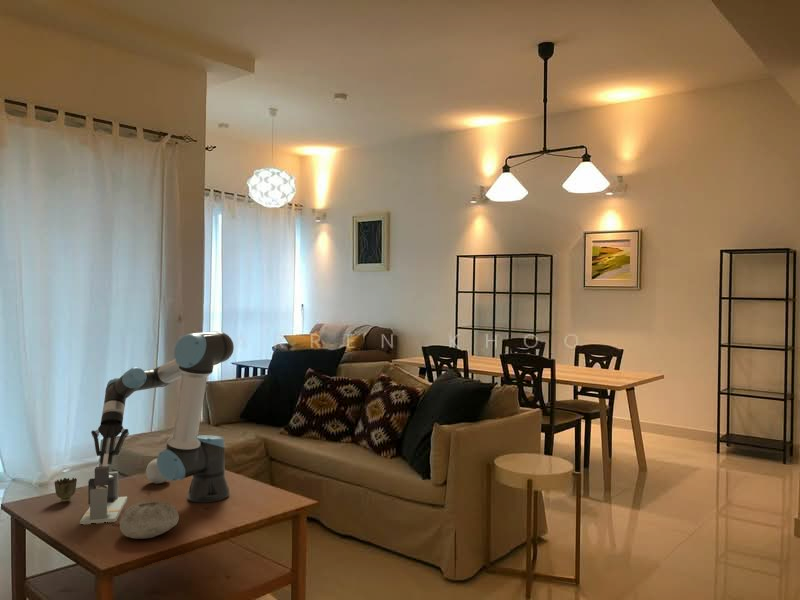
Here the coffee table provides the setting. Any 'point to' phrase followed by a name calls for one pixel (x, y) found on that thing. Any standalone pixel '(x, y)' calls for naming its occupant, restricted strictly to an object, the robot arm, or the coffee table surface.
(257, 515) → the coffee table surface
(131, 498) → the coffee table surface
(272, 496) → the coffee table surface
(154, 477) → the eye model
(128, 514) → the grey stone
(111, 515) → the pipe stand
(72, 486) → the cup
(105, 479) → the collar
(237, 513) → the coffee table surface
